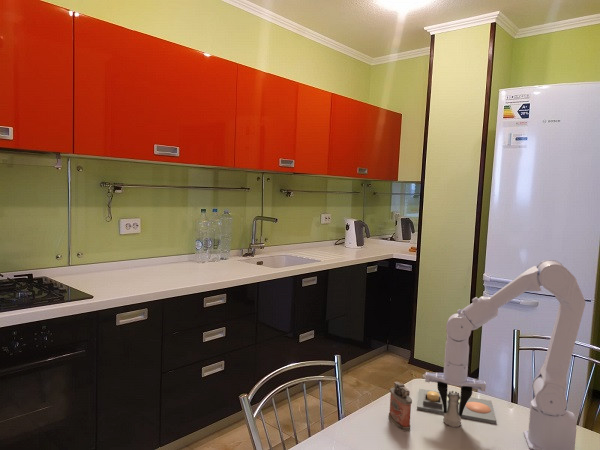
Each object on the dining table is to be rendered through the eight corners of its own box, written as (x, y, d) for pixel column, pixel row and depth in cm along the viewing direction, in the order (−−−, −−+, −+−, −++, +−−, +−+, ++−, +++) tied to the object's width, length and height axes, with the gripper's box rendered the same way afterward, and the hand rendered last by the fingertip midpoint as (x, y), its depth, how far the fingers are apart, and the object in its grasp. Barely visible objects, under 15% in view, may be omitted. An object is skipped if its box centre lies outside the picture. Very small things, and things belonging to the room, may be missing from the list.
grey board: (491, 403, 125) (491, 396, 125) (496, 423, 114) (496, 416, 114) (419, 391, 131) (419, 384, 131) (416, 409, 120) (417, 402, 120)
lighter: (385, 415, 116) (387, 378, 115) (396, 414, 117) (399, 377, 116) (401, 431, 108) (403, 392, 108) (413, 429, 109) (415, 391, 109)
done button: (438, 397, 124) (439, 392, 123) (438, 402, 120) (439, 397, 120) (427, 395, 125) (427, 390, 124) (426, 400, 121) (427, 395, 121)
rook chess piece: (462, 428, 111) (464, 398, 110) (444, 426, 112) (446, 395, 111) (459, 419, 115) (461, 390, 115) (442, 417, 116) (443, 388, 116)
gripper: (485, 360, 114) (481, 410, 115) (427, 351, 118) (424, 400, 119) (488, 370, 107) (484, 423, 108) (426, 361, 112) (423, 412, 113)
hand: (452, 412), depth 113 cm, fingers closed on rook chess piece, 3 cm apart
